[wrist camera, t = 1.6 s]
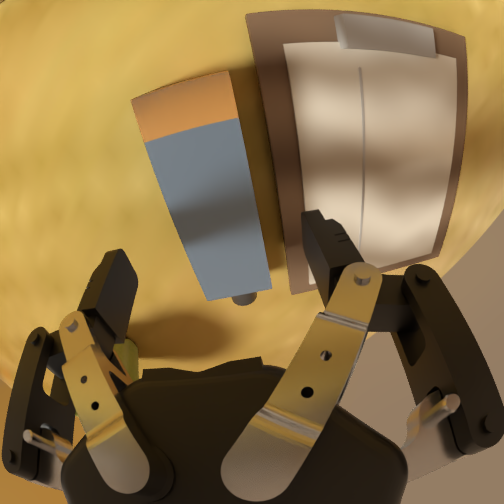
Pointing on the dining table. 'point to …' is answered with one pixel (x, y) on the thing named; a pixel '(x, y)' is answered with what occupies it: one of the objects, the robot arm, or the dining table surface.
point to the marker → (207, 183)
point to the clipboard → (362, 129)
